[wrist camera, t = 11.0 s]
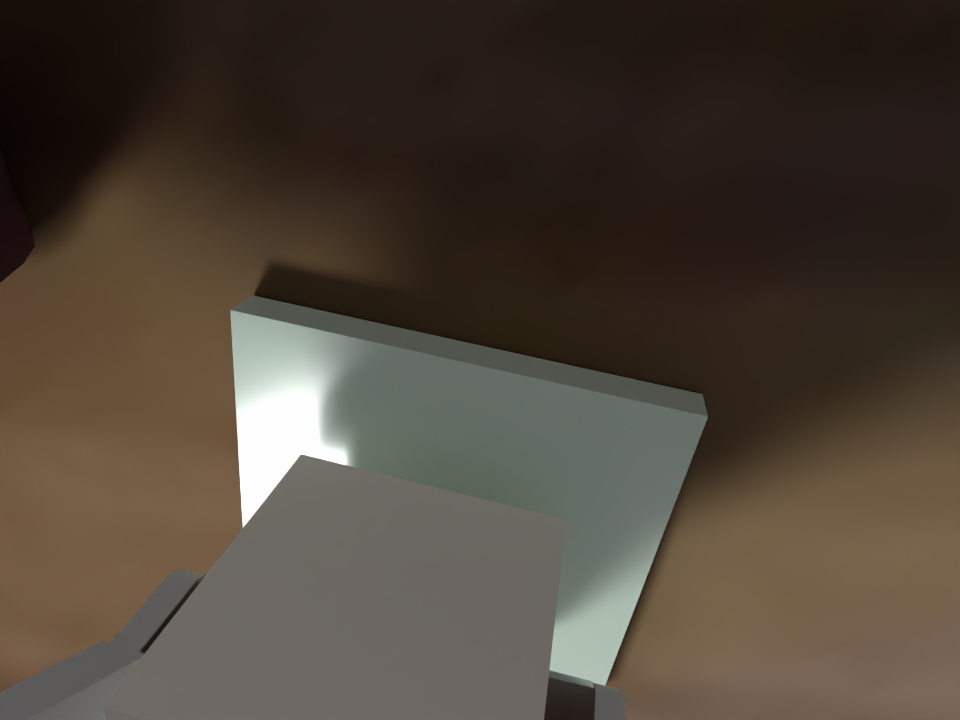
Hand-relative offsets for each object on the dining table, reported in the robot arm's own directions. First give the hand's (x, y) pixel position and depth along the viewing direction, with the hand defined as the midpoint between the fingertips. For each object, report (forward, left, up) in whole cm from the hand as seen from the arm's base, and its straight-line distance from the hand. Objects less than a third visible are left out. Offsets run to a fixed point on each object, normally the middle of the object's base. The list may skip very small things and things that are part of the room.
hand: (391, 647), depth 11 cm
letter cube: (0, 0, -2) cm, 2 cm away
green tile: (0, 0, -4) cm, 4 cm away
